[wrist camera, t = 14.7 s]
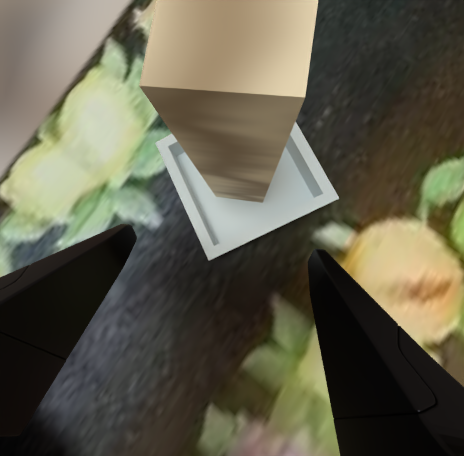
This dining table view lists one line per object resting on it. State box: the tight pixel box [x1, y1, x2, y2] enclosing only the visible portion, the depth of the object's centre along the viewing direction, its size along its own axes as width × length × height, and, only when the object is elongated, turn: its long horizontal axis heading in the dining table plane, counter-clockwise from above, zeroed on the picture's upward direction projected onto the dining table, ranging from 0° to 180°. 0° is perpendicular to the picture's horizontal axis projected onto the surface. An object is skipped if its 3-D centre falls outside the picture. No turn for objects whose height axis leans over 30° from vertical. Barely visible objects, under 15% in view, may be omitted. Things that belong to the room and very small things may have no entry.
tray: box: [155, 122, 339, 260], centre depth 18 cm, size 13×13×3 cm
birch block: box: [139, 0, 318, 203], centre depth 12 cm, size 5×5×13 cm
